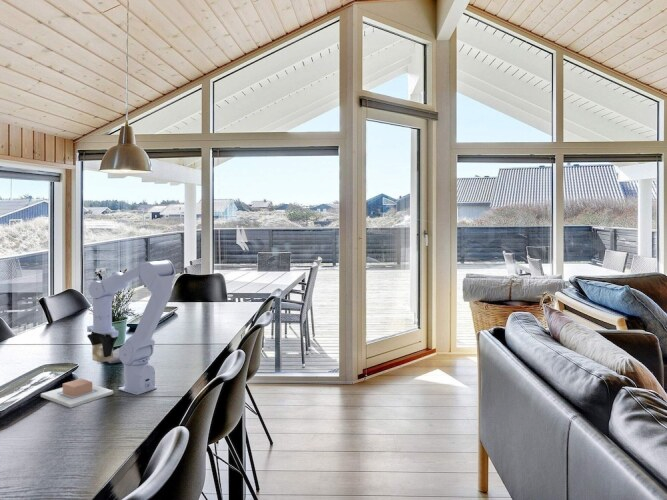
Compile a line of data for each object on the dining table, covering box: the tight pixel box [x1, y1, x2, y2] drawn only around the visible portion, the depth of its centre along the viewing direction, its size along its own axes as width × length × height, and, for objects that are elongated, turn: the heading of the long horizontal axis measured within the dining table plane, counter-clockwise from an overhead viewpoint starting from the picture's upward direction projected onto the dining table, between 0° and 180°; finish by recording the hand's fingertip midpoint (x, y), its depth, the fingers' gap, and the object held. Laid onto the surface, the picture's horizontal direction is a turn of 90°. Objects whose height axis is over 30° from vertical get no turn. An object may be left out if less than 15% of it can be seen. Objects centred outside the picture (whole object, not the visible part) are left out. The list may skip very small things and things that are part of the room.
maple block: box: [91, 344, 114, 363], centre depth 165 cm, size 5×5×5 cm
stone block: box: [105, 347, 123, 364], centre depth 192 cm, size 12×5×10 cm
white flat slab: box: [40, 378, 115, 408], centre depth 152 cm, size 16×14×4 cm
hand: (102, 355), depth 165 cm, fingers closed on maple block, 5 cm apart
